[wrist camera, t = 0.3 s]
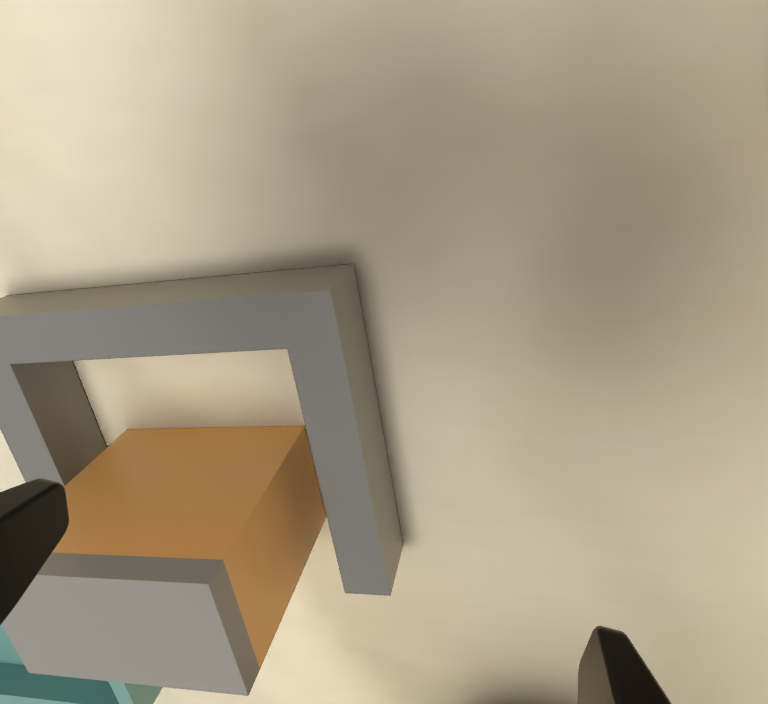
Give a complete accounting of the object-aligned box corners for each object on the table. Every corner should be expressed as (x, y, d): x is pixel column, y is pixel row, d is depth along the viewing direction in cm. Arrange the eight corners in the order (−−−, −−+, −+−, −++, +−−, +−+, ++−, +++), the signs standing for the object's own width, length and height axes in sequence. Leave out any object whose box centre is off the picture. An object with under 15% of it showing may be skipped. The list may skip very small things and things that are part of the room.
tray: (165, 682, 36) (142, 721, 34) (-17, 663, 39) (-49, 698, 37) (104, 542, 32) (73, 577, 29) (-95, 535, 35) (-136, 566, 33)
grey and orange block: (326, 516, 28) (248, 695, 20) (159, 512, 30) (28, 672, 22) (305, 425, 26) (208, 584, 18) (127, 428, 28) (-29, 571, 20)
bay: (403, 544, 27) (390, 595, 25) (109, 534, 31) (71, 578, 29) (353, 263, 22) (330, 290, 19) (7, 295, 26) (-52, 321, 23)
